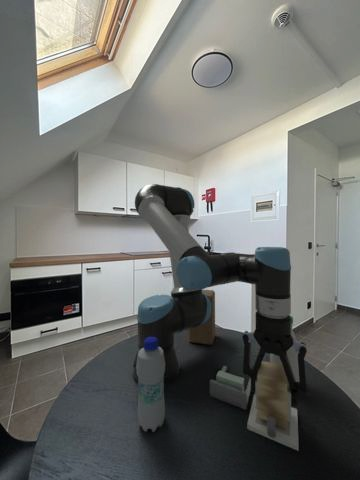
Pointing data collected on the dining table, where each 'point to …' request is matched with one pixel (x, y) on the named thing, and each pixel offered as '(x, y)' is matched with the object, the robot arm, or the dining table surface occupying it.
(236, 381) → the cover
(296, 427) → the seat plate
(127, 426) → the dining table surface
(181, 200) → the robot arm
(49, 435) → the dining table surface
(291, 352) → the milk bottle
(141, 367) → the bottle
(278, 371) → the block
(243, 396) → the housing frame
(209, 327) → the wooden block
